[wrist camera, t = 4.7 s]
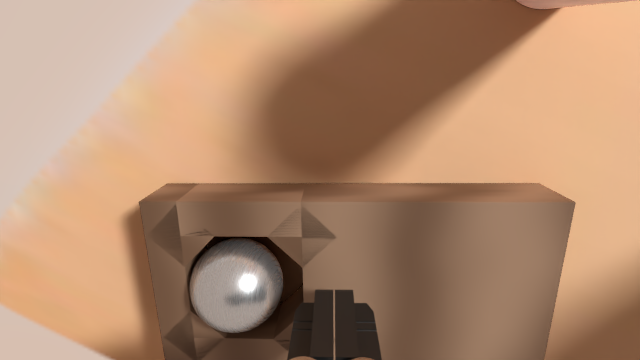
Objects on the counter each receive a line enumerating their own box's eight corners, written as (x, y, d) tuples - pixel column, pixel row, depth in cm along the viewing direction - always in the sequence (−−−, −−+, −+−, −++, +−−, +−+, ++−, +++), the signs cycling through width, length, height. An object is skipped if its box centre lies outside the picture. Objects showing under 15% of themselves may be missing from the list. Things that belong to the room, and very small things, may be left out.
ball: (253, 273, 13) (161, 258, 14) (261, 364, 14) (175, 343, 15) (294, 228, 16) (219, 220, 18) (297, 303, 17) (226, 290, 19)
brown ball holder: (539, 183, 16) (575, 202, 13) (513, 333, 18) (541, 372, 16) (167, 183, 17) (138, 201, 14) (187, 327, 19) (165, 364, 16)
